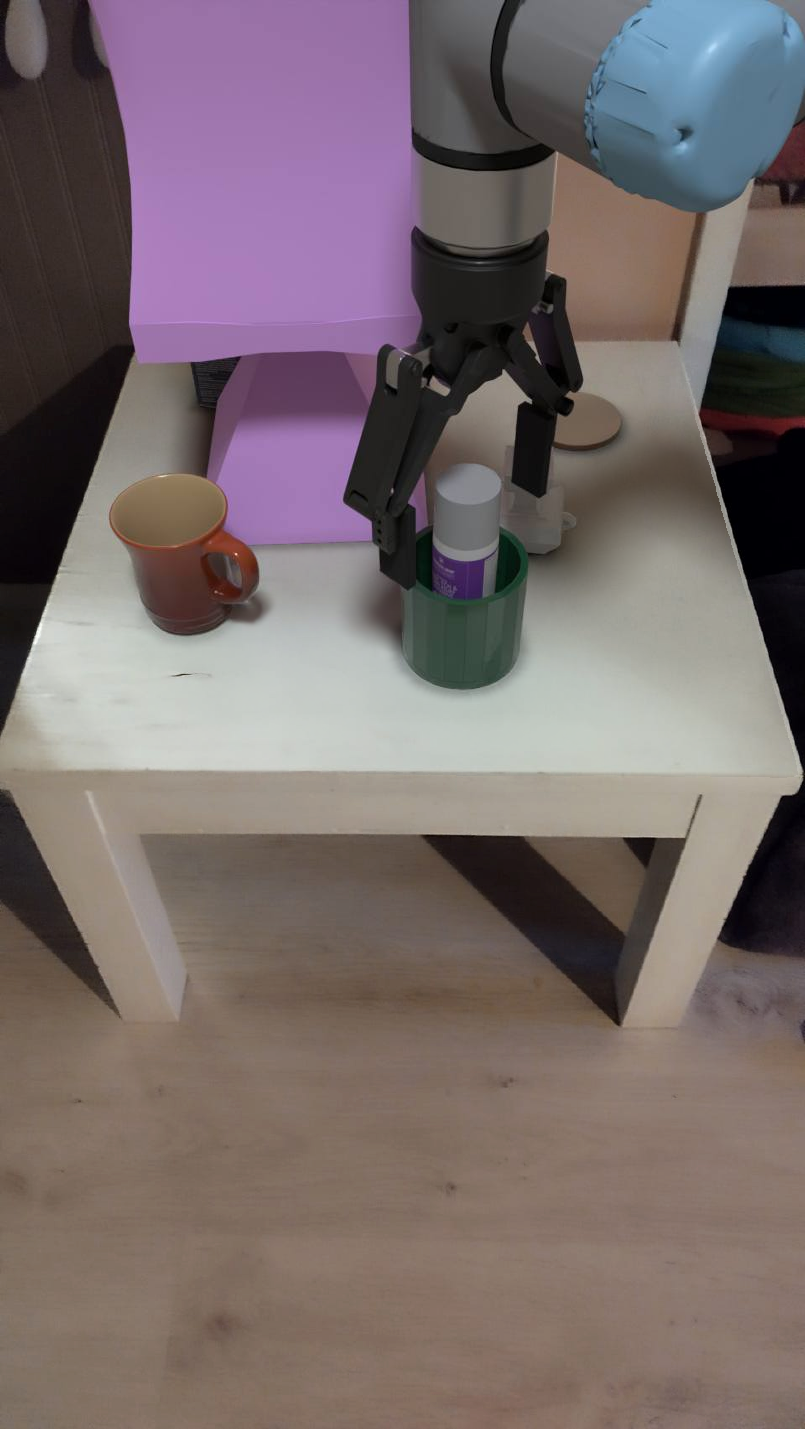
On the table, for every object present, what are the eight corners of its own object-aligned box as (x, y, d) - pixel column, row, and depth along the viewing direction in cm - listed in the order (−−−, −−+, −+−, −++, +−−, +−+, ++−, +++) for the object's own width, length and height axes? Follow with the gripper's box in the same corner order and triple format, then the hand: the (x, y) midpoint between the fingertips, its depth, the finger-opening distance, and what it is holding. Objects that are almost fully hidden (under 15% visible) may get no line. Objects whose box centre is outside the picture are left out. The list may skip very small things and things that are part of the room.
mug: (115, 620, 82) (83, 521, 74) (185, 558, 87) (162, 459, 79) (231, 678, 78) (210, 580, 70) (298, 610, 83) (286, 511, 75)
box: (251, 412, 101) (236, 309, 92) (196, 407, 101) (177, 305, 93) (270, 368, 106) (257, 267, 97) (217, 364, 106) (200, 263, 98)
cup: (543, 645, 80) (555, 559, 73) (463, 708, 76) (468, 624, 69) (458, 588, 84) (461, 502, 77) (378, 646, 80) (374, 560, 73)
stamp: (574, 517, 90) (586, 437, 83) (572, 568, 85) (584, 488, 79) (473, 510, 90) (477, 429, 84) (465, 559, 86) (469, 479, 80)
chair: (431, 400, 101) (437, -198, 67) (444, 549, 87) (461, -112, 52) (207, 407, 101) (96, -190, 66) (184, 558, 87) (27, -100, 52)
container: (422, 651, 79) (423, 495, 67) (443, 611, 81) (447, 455, 70) (479, 667, 77) (490, 512, 66) (499, 626, 80) (512, 470, 69)
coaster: (639, 422, 99) (640, 417, 98) (581, 463, 95) (582, 457, 94) (567, 386, 103) (568, 380, 102) (508, 423, 99) (509, 418, 98)
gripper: (572, 137, 62) (539, 433, 78) (257, 284, 51) (297, 593, 67) (674, 173, 58) (617, 475, 75) (360, 340, 47) (375, 651, 64)
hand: (465, 531), depth 71 cm, fingers open, 13 cm apart
